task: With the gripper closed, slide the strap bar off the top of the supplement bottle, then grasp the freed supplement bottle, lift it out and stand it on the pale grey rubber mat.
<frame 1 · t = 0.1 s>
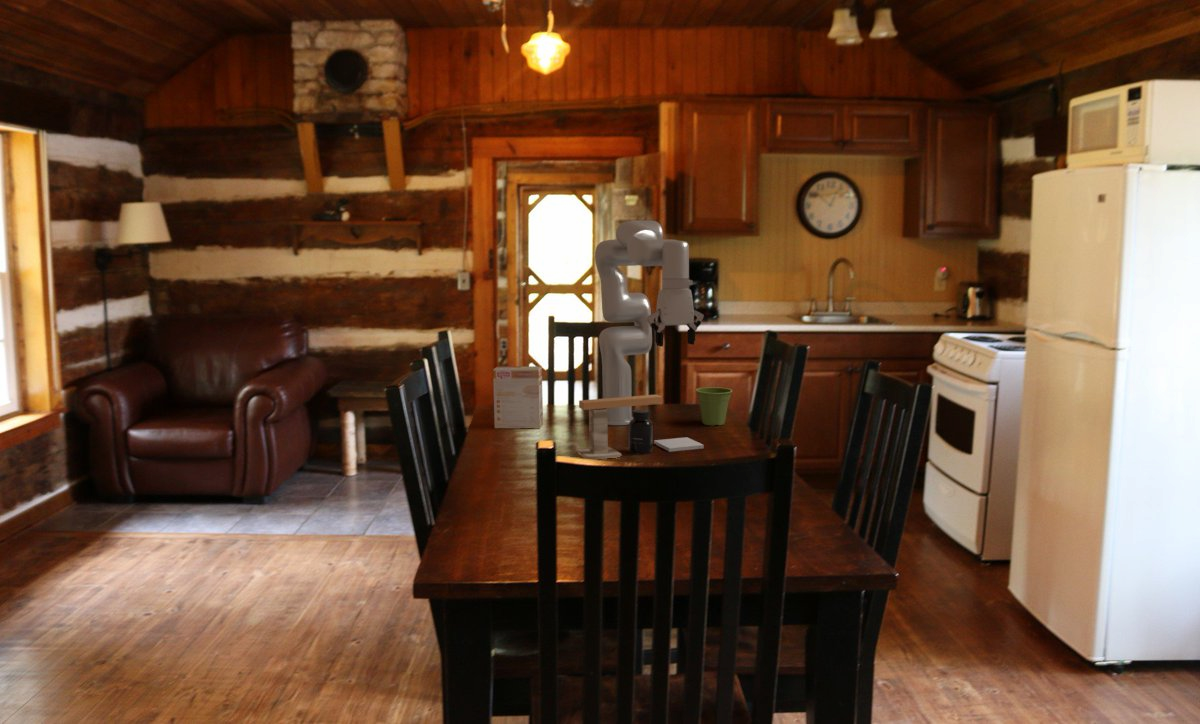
hand: (675, 345, 282), 31 cm above the table, tool pointing down, fingers open, 9 cm apart
plant pot: (713, 424, 324), on the table
grey mat: (678, 445, 293), on the table
supplement bottle: (640, 452, 287), on the table
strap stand: (598, 455, 282), on the table
strap bar: (621, 402, 282), point 15 cm above the table, slide at 0.0 cm
coffeecake box: (519, 427, 322), on the table
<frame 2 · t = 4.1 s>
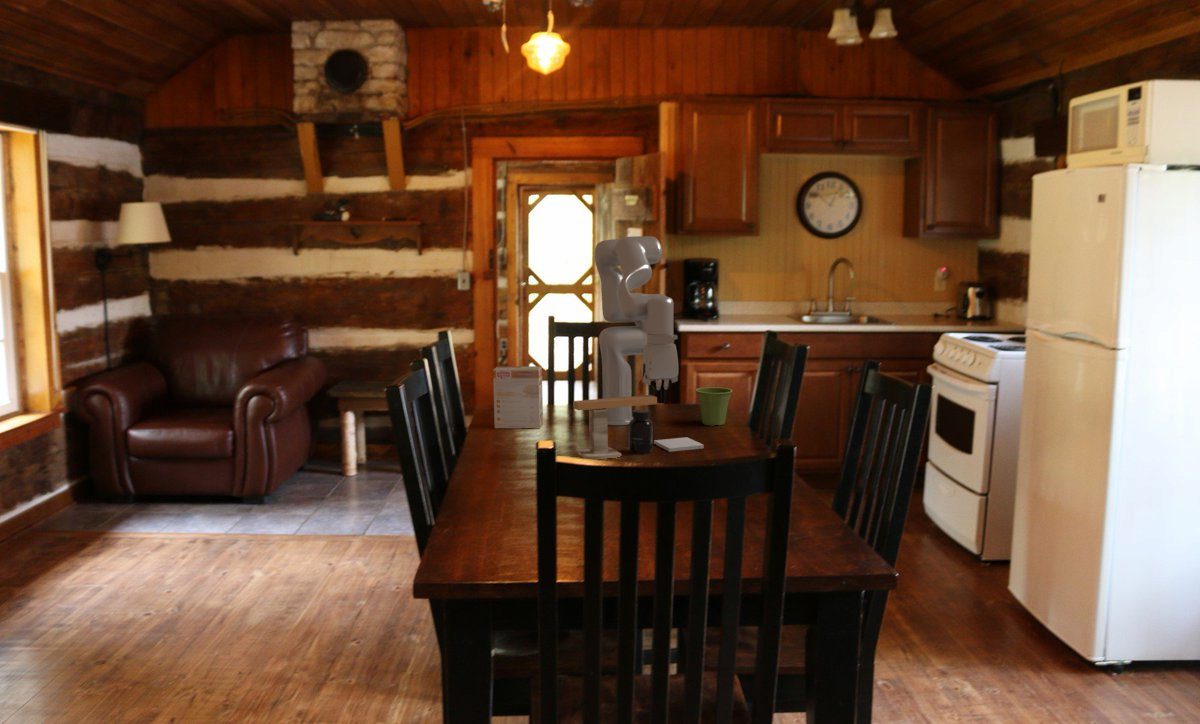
hand: (660, 402, 287), 14 cm above the table, tool pointing down, fingers closed
strap bar: (615, 402, 282), point 15 cm above the table, slide at 1.7 cm, touching gripper
everything else where it was.
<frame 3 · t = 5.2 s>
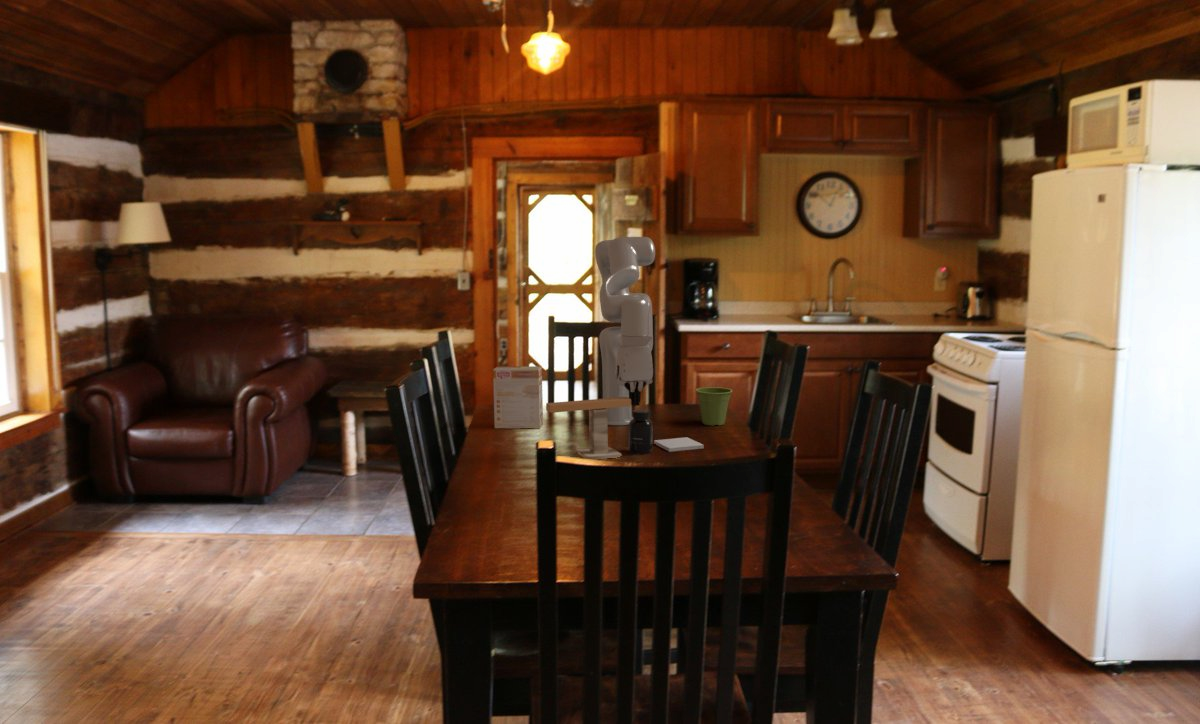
hand: (634, 404, 284), 14 cm above the table, tool pointing down, fingers closed
strap bar: (589, 404, 279), point 15 cm above the table, slide at 9.7 cm, touching gripper
everything else where it was.
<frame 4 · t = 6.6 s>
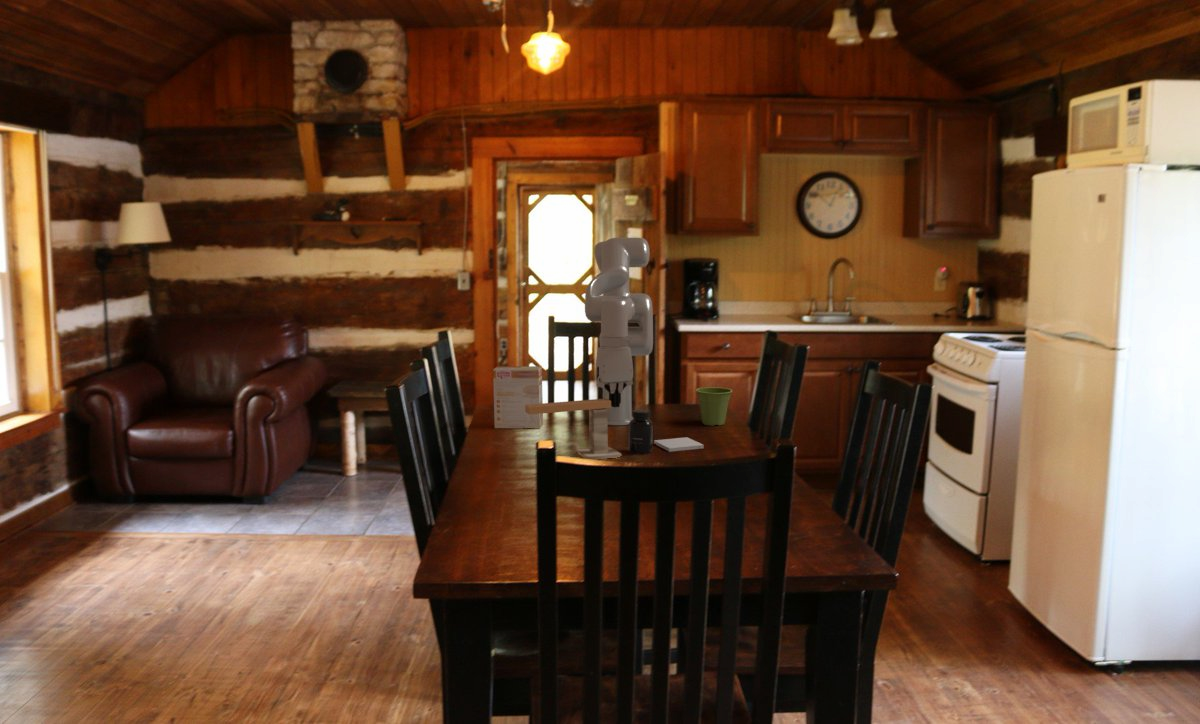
hand: (614, 406, 282), 14 cm above the table, tool pointing down, fingers closed
strap bar: (568, 406, 277), point 15 cm above the table, slide at 15.8 cm, touching gripper
everything else where it was.
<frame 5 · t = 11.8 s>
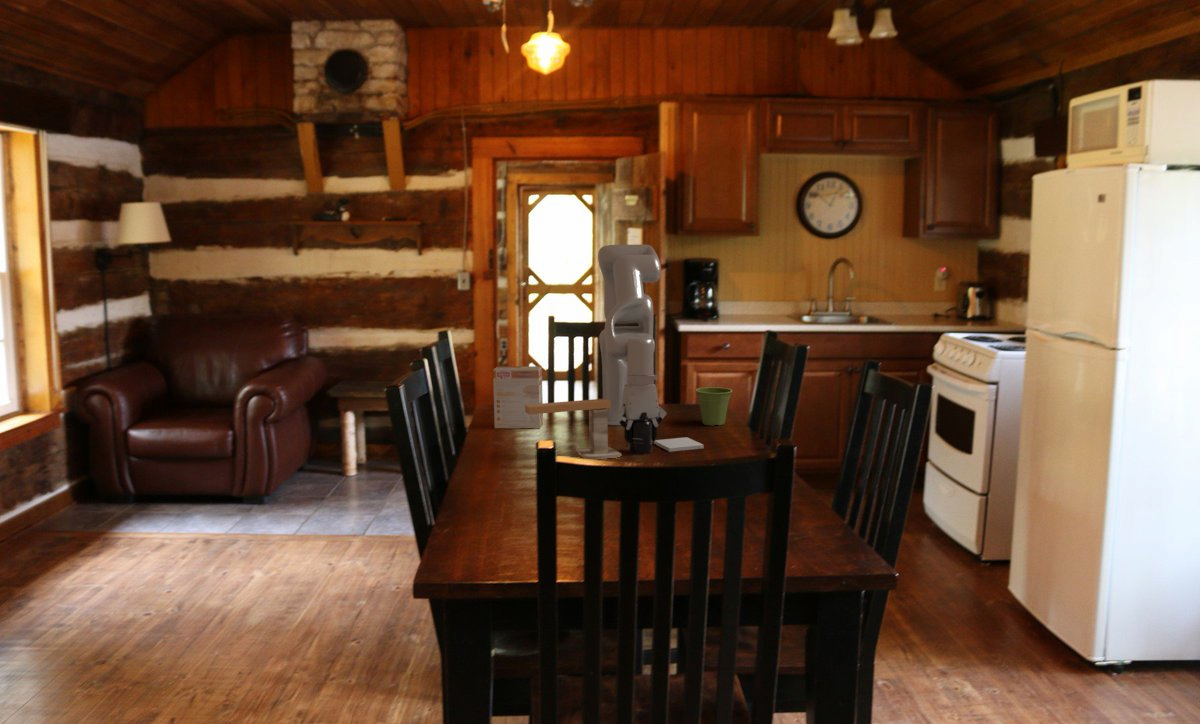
hand: (640, 440, 286), 3 cm above the table, tool pointing down, fingers closed on supplement bottle, 6 cm apart
supplement bottle: (640, 452, 287), on the table, touching gripper
strap bar: (568, 406, 277), point 15 cm above the table, slide at 15.9 cm
everything else where it was.
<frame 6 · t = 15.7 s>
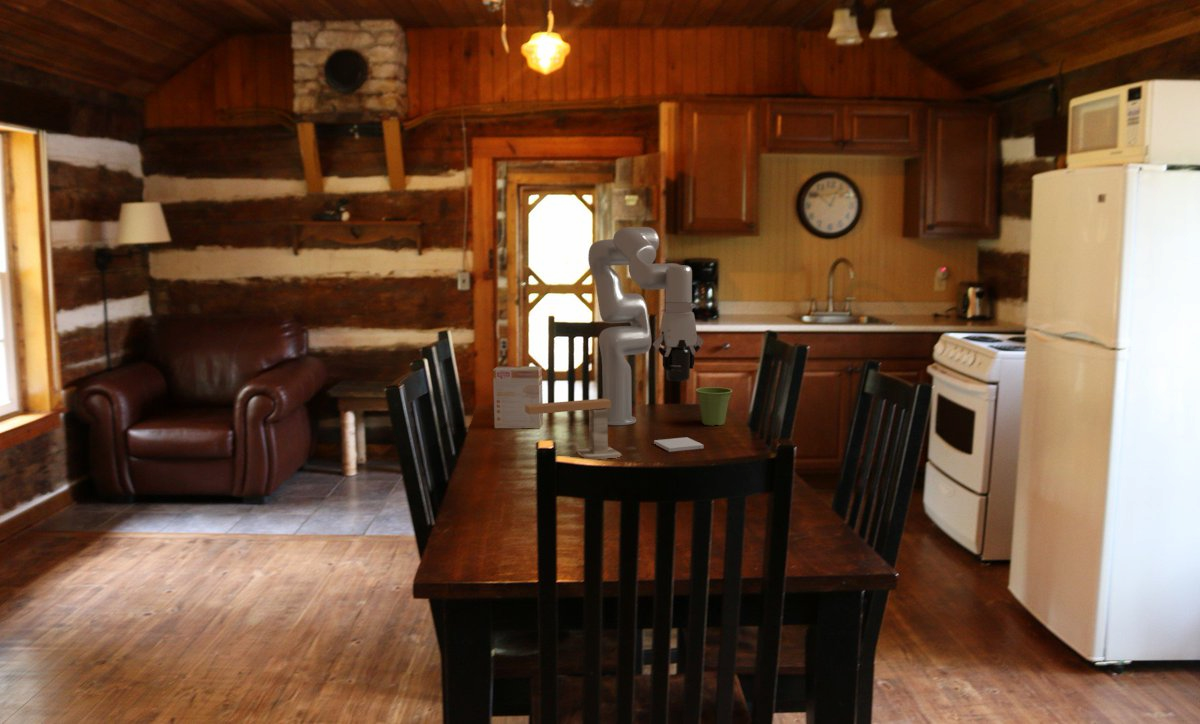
hand: (678, 368, 290), 23 cm above the table, tool pointing down, fingers closed on supplement bottle, 6 cm apart
supplement bottle: (678, 380, 290), point 20 cm above the table, touching gripper
everything else where it was.
when the fingers open (6 cm above the table, at t = 19.4 s): supplement bottle drops 1 cm, resting on grey mat.
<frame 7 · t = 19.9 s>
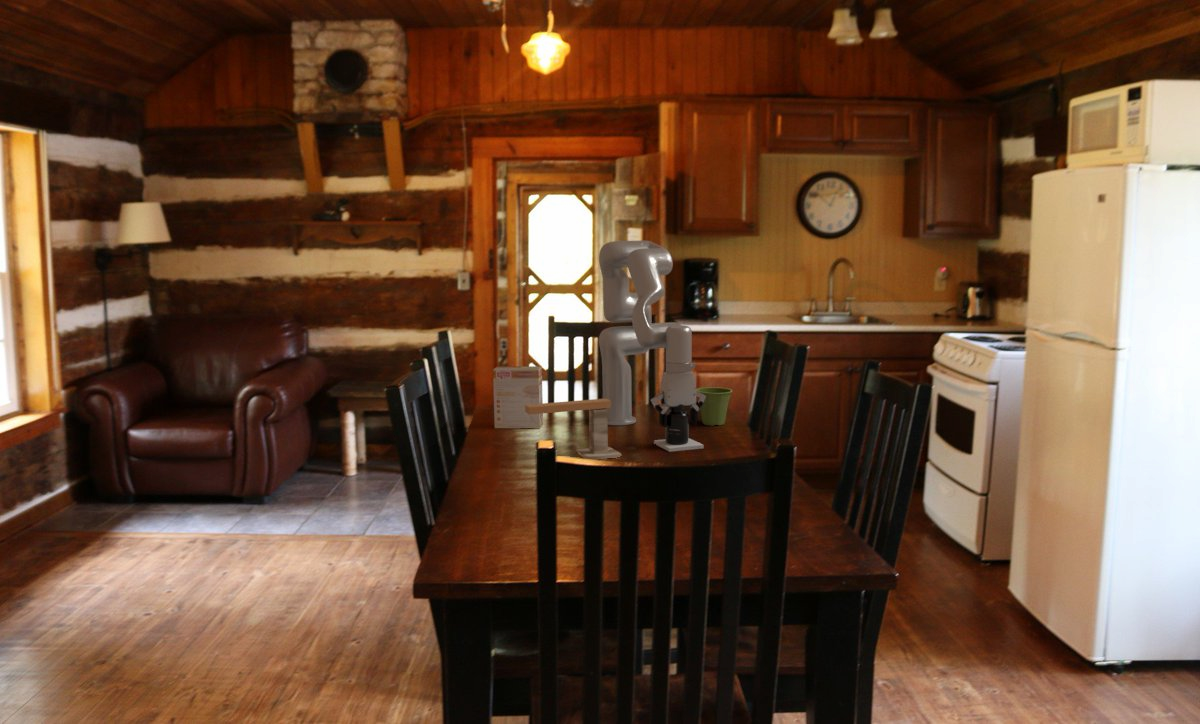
hand: (678, 425, 292), 6 cm above the table, tool pointing down, fingers open, 9 cm apart
supplement bottle: (677, 443, 293), point 1 cm above the table, touching grey mat
everything else where it was.
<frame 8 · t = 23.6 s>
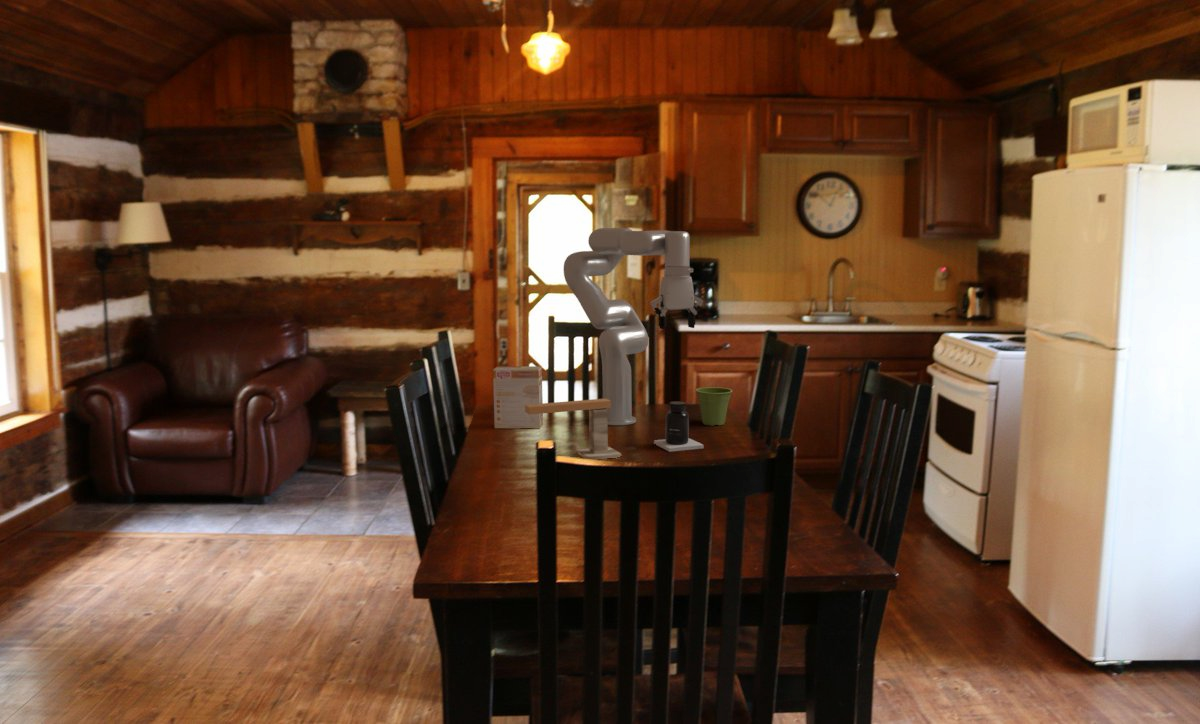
hand: (677, 328, 303), 33 cm above the table, tool pointing down, fingers open, 9 cm apart
nothing on the table moved.
at the end: strap bar slide at 15.9 cm; supplement bottle inside the target area on the grey mat (0.4 cm from its centre), point 0.8 cm above the grey mat's base; supplement bottle tilted 0° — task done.
